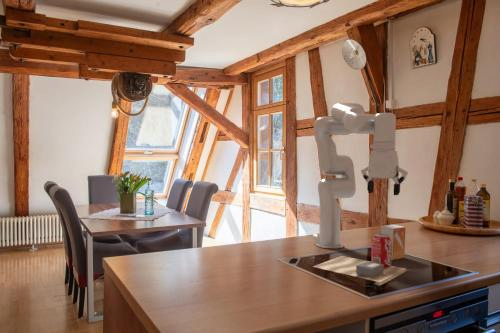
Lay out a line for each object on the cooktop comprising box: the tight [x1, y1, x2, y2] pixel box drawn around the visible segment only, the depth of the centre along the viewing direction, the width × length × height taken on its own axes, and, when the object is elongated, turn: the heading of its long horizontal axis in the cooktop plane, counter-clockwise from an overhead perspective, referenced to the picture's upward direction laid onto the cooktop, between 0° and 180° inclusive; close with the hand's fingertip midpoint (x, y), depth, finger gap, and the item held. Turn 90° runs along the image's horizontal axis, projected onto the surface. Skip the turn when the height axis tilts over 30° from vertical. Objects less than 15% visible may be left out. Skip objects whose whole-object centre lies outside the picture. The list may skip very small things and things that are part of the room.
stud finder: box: [356, 260, 384, 278], centre depth 142 cm, size 6×8×3 cm
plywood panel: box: [312, 255, 407, 286], centre depth 150 cm, size 26×22×1 cm
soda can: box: [370, 232, 393, 269], centre depth 150 cm, size 7×7×12 cm
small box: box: [380, 224, 406, 261], centre depth 170 cm, size 8×6×13 cm
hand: (383, 193), depth 149 cm, fingers open, 9 cm apart
